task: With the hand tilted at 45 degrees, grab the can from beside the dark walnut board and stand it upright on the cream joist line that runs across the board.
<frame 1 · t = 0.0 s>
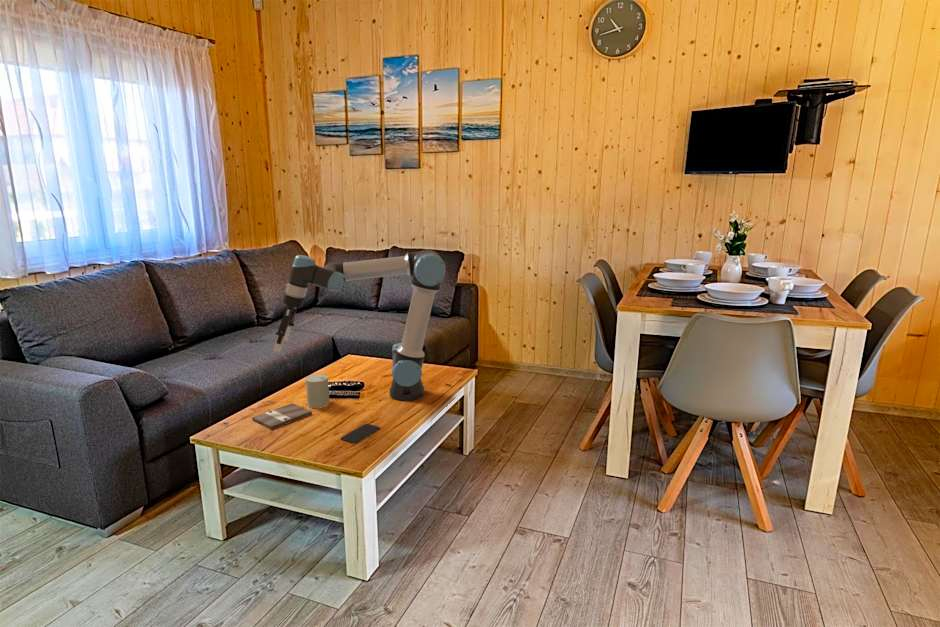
hand: (280, 345, 217), 28 cm above the table, tool tilted 20°, fingers open, 13 cm apart
phone: (360, 435, 205), on the table
can: (318, 404, 232), on the table
subfloor board: (282, 417, 219), on the table
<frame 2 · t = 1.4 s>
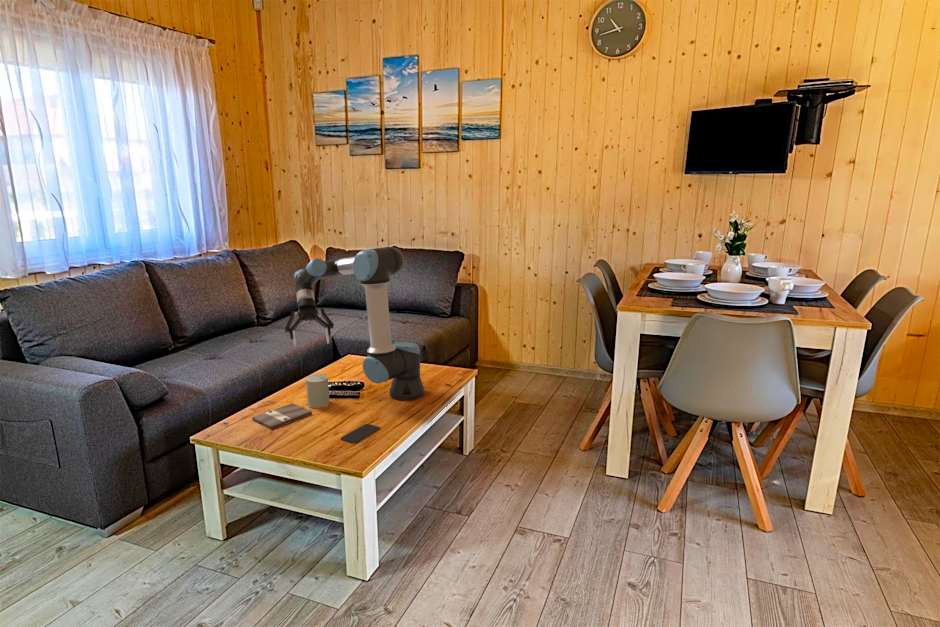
hand: (311, 343, 236), 23 cm above the table, tool tilted 45°, fingers open, 13 cm apart
nothing on the table moved.
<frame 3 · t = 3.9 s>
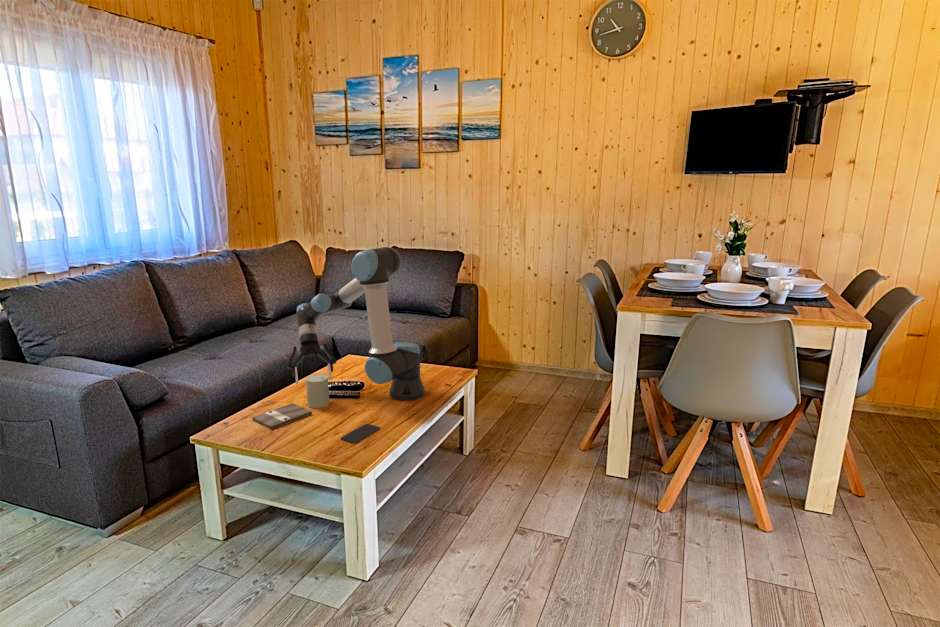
hand: (314, 380, 233), 9 cm above the table, tool tilted 45°, fingers open, 13 cm apart
nothing on the table moved.
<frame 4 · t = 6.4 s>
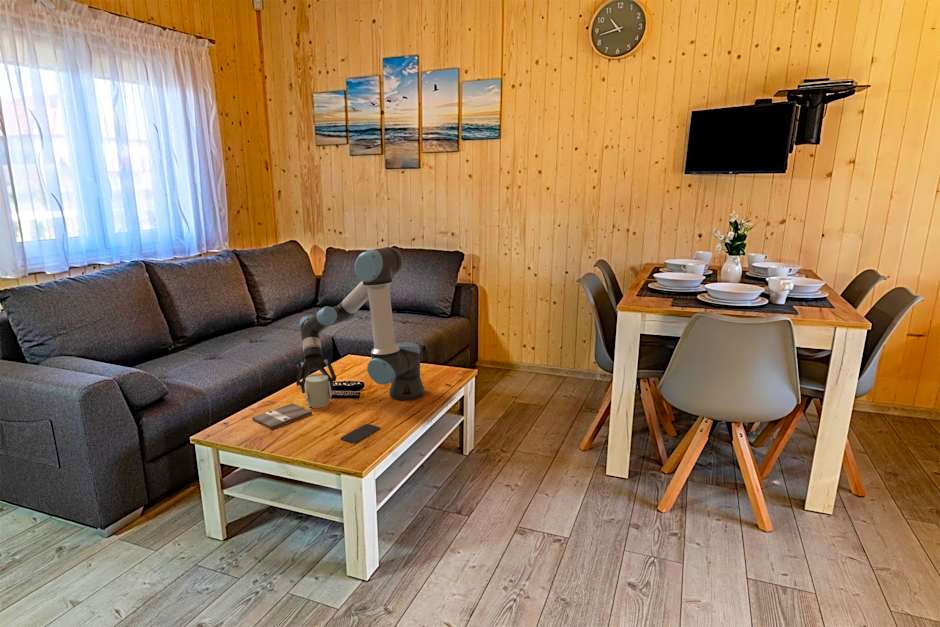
hand: (318, 398, 228), 4 cm above the table, tool tilted 45°, fingers closed on can, 9 cm apart
can: (318, 404, 232), on the table, touching gripper
everything else where it was.
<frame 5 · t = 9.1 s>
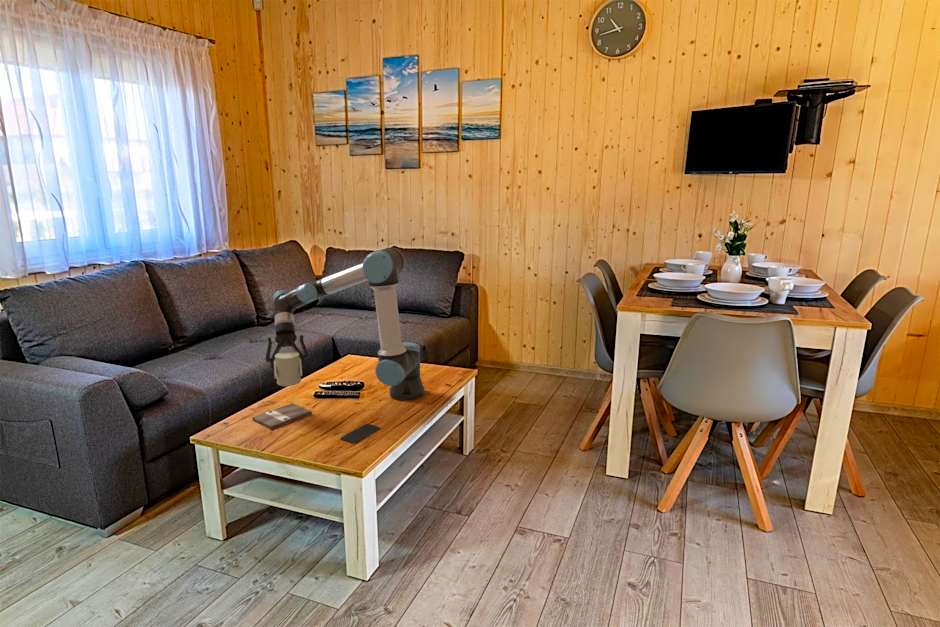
hand: (288, 375, 217), 16 cm above the table, tool tilted 45°, fingers closed on can, 9 cm apart
can: (289, 382, 222), point 12 cm above the table, touching gripper
everything else where it was.
when the fingers open (7 cm above the table, at t = 12.2 s): can drops 1 cm, resting on subfloor board.
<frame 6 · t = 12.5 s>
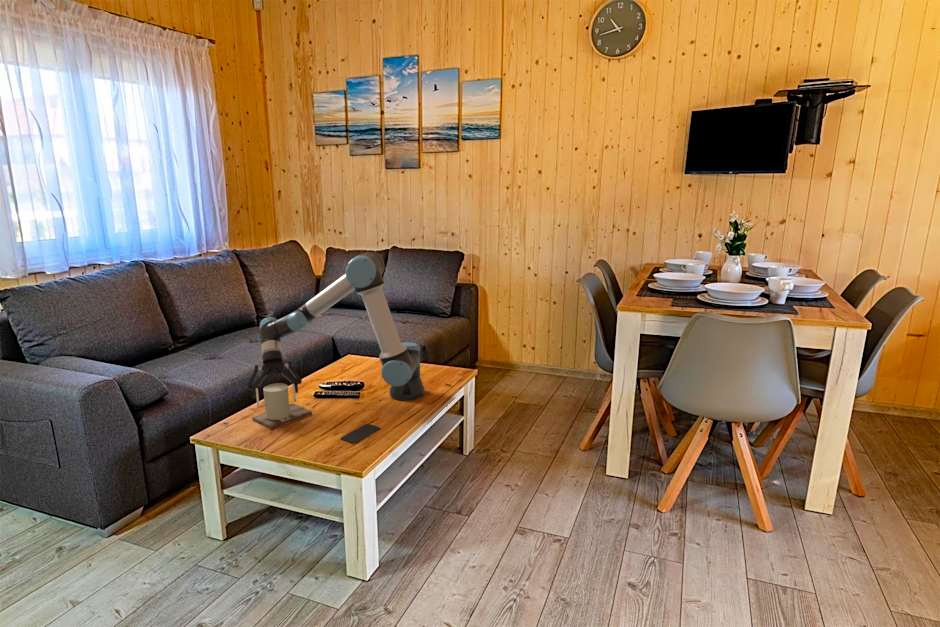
hand: (276, 402, 213), 8 cm above the table, tool tilted 45°, fingers open, 13 cm apart
can: (278, 415, 217), point 1 cm above the table, touching subfloor board
everything else where it was.
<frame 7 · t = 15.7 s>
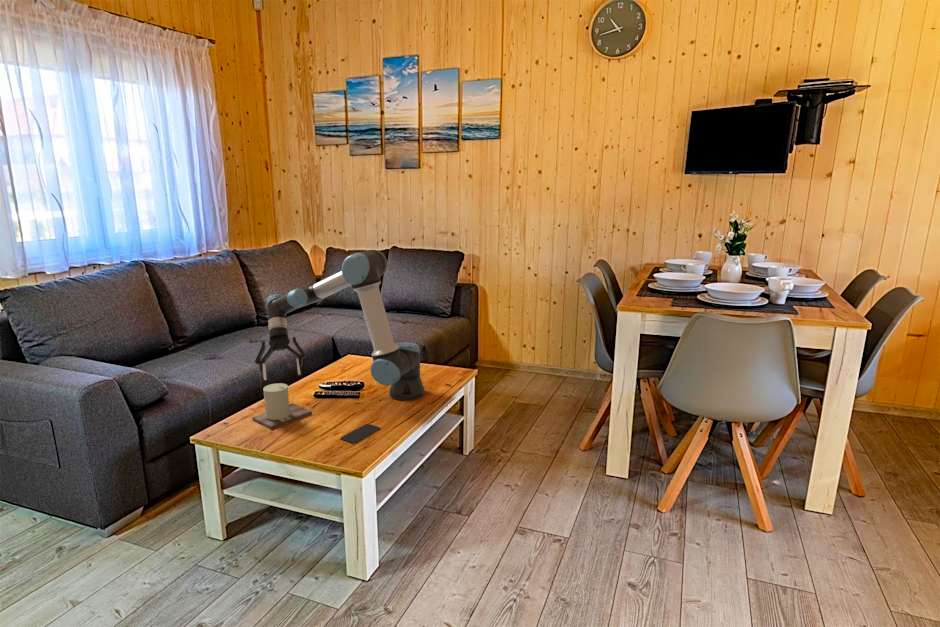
hand: (282, 376, 230), 11 cm above the table, tool tilted 40°, fingers open, 13 cm apart
nothing on the table moved.
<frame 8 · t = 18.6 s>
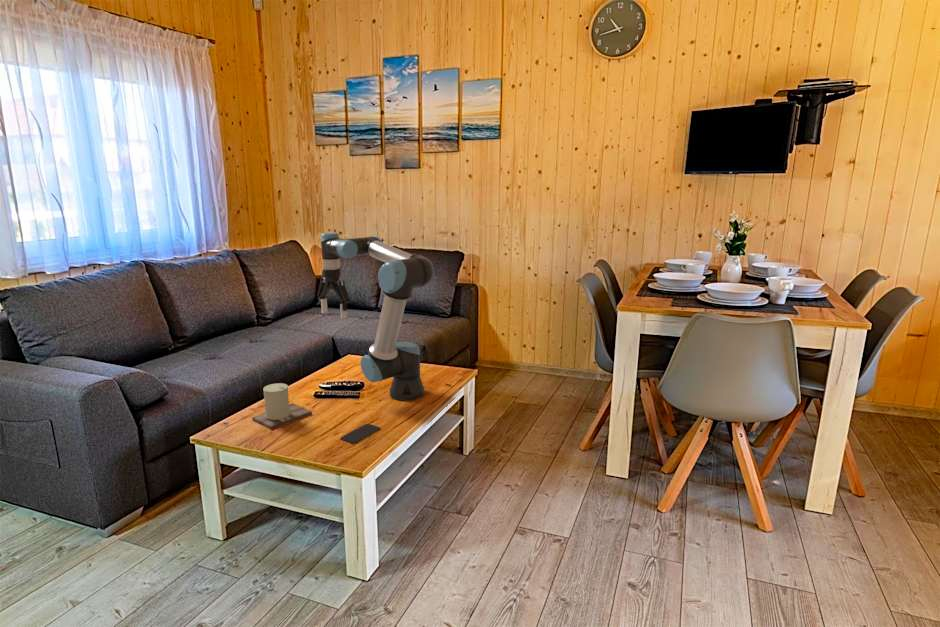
hand: (334, 315, 248), 32 cm above the table, tool pointing down, fingers open, 13 cm apart
nothing on the table moved.
at the end: can inside the target area on the subfloor board (0.1 cm from its centre), point 1.3 cm above the subfloor board's base; can tilted 1°; the gripper is holding nothing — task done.
